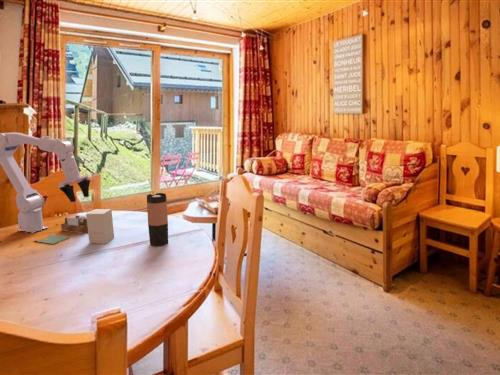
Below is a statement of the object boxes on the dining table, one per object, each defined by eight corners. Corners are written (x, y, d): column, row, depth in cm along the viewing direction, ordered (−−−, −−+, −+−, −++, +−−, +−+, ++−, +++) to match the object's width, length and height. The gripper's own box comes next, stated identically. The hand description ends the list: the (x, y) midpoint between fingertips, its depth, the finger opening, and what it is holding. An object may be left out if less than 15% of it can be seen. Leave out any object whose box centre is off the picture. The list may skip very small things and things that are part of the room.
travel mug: (163, 247, 135) (161, 197, 131) (145, 245, 136) (142, 196, 132) (171, 240, 142) (169, 193, 138) (154, 239, 143) (152, 192, 139)
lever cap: (67, 224, 153) (66, 216, 152) (75, 221, 157) (74, 213, 156) (78, 226, 151) (77, 217, 150) (86, 223, 155) (85, 215, 154)
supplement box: (114, 237, 145) (112, 208, 142) (105, 244, 138) (103, 213, 135) (98, 237, 146) (95, 208, 143) (88, 243, 139) (85, 213, 136)
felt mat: (34, 241, 140) (34, 240, 140) (51, 235, 148) (51, 234, 148) (53, 244, 137) (53, 243, 137) (69, 238, 145) (69, 237, 144)
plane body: (61, 230, 154) (60, 217, 153) (70, 227, 159) (69, 214, 157) (85, 233, 150) (83, 220, 149) (93, 230, 155) (92, 217, 153)
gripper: (63, 170, 139) (73, 202, 141) (90, 164, 152) (99, 193, 155) (50, 173, 141) (61, 204, 144) (78, 166, 155) (87, 195, 157)
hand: (80, 199), depth 149 cm, fingers open, 7 cm apart
